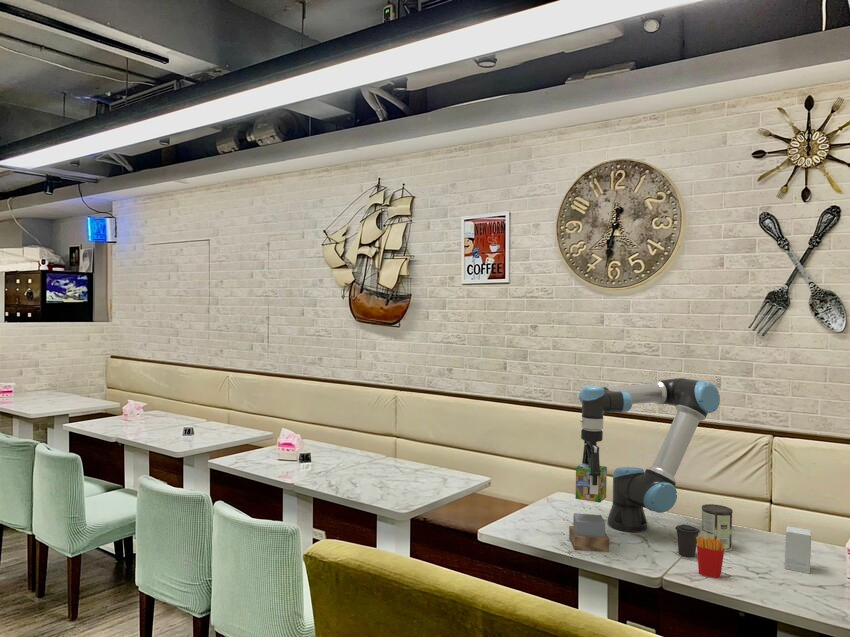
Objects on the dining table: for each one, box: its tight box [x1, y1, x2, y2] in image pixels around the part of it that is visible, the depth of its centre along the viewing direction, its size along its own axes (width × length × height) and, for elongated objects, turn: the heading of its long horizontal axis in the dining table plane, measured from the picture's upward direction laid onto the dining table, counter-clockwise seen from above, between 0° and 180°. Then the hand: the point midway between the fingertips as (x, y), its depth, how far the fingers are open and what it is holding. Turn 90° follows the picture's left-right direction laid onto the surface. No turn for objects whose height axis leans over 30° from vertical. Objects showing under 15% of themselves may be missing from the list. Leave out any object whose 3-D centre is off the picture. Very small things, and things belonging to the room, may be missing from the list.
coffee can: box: [700, 503, 733, 553], centre depth 228 cm, size 10×10×14 cm
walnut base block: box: [568, 525, 610, 553], centre depth 226 cm, size 12×12×5 cm
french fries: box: [696, 535, 725, 579], centre depth 202 cm, size 8×4×12 cm, turn 59°
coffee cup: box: [674, 523, 701, 559], centre depth 219 cm, size 8×8×10 cm
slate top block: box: [572, 512, 607, 538], centre depth 226 cm, size 10×10×5 cm
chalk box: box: [574, 458, 608, 503], centre depth 226 cm, size 9×9×15 cm
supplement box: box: [784, 525, 812, 574], centre depth 210 cm, size 7×7×13 cm
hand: (590, 489), depth 226 cm, fingers closed on chalk box, 12 cm apart
